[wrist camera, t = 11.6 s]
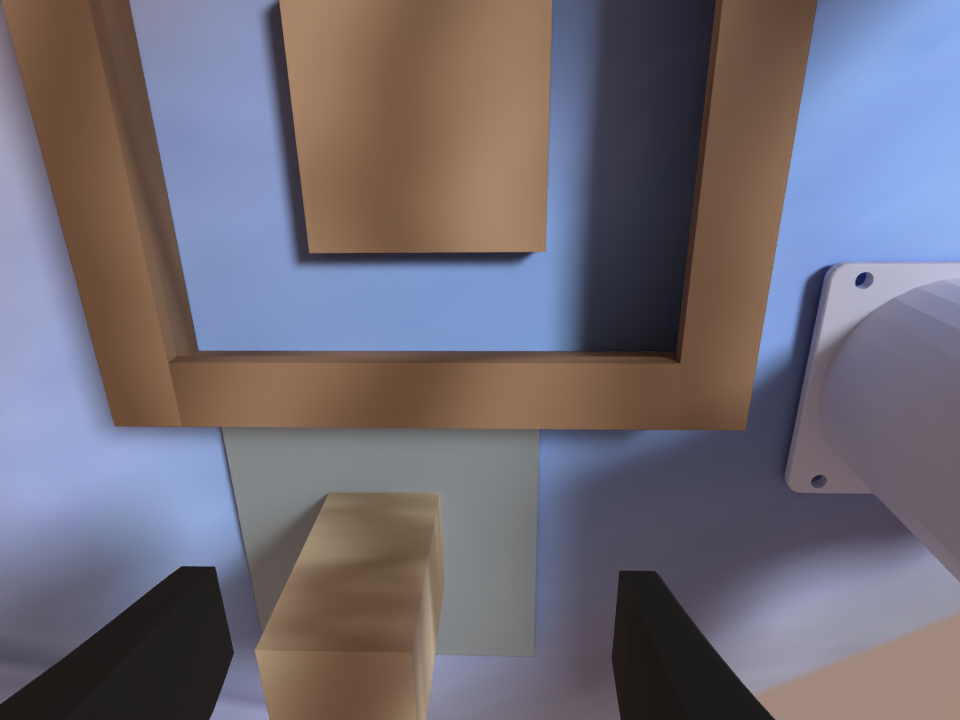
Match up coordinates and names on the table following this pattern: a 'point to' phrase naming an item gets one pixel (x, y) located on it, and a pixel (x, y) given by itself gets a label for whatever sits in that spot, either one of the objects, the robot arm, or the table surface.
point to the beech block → (358, 613)
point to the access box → (410, 212)
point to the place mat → (409, 469)
